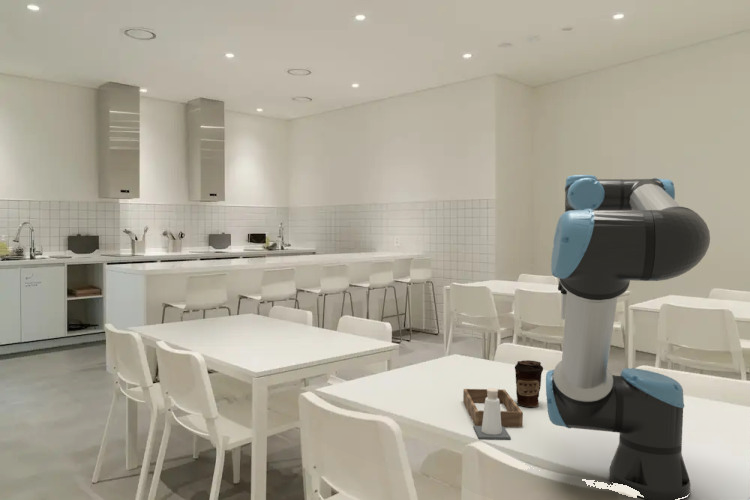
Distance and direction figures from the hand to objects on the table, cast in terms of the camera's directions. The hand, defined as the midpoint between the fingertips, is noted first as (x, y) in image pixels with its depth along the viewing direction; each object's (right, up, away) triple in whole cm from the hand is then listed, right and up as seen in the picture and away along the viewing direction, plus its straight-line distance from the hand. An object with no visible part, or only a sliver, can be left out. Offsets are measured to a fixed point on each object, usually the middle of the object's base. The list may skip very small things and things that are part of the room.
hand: (577, 323), depth 140 cm
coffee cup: (-4, -29, +30) cm, 42 cm away
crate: (-17, -29, +21) cm, 39 cm away
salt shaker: (-20, -29, +5) cm, 36 cm away
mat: (-20, -29, +5) cm, 36 cm away
